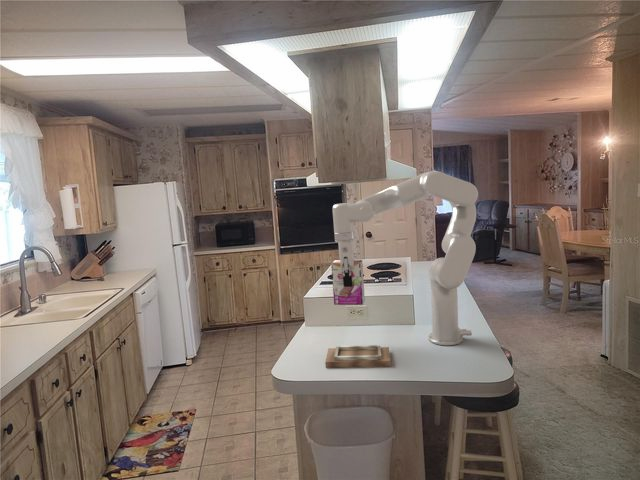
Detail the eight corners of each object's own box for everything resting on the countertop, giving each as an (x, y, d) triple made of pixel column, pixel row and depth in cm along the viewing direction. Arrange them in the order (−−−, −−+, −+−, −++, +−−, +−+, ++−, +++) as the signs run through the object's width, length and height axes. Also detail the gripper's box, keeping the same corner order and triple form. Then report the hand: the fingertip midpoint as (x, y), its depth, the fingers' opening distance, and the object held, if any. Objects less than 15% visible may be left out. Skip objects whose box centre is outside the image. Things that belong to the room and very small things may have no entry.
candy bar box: (333, 305, 162) (330, 262, 160) (336, 301, 167) (333, 260, 165) (363, 305, 159) (360, 261, 157) (365, 301, 164) (362, 259, 162)
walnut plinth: (388, 352, 157) (388, 343, 156) (390, 366, 145) (390, 357, 145) (328, 353, 159) (328, 345, 159) (325, 367, 147) (325, 358, 147)
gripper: (354, 239, 151) (358, 289, 153) (355, 233, 168) (358, 278, 170) (332, 240, 152) (336, 290, 154) (336, 234, 169) (339, 279, 171)
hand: (348, 284), depth 162 cm, fingers closed on candy bar box, 5 cm apart
